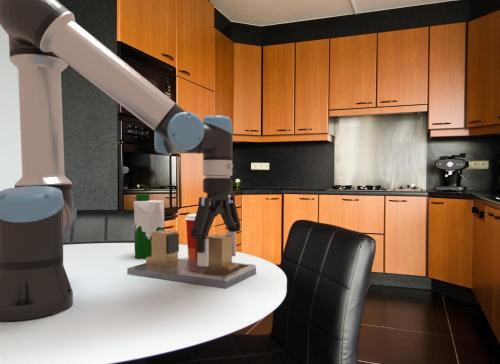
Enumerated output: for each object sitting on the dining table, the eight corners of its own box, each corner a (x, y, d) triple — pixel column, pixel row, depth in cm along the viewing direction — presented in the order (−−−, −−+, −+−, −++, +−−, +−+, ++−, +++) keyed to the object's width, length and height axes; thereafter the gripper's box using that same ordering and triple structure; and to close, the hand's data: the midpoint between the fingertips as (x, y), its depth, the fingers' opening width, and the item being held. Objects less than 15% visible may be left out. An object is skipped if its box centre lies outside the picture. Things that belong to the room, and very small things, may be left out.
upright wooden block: (229, 275, 96) (229, 238, 96) (202, 272, 100) (202, 236, 100) (238, 271, 101) (238, 236, 101) (213, 268, 104) (213, 234, 104)
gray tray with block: (225, 288, 91) (225, 242, 91) (127, 273, 104) (127, 234, 104) (256, 273, 105) (256, 233, 105) (166, 262, 118) (166, 227, 118)
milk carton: (139, 253, 132) (139, 193, 131) (166, 253, 131) (166, 193, 131) (131, 259, 123) (131, 195, 123) (160, 259, 123) (160, 195, 122)
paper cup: (212, 257, 125) (212, 213, 125) (207, 262, 118) (207, 216, 117) (188, 257, 126) (188, 213, 126) (181, 262, 118) (181, 215, 118)
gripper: (202, 177, 88) (202, 272, 88) (252, 177, 110) (252, 253, 110) (175, 177, 91) (175, 268, 91) (229, 177, 113) (229, 251, 114)
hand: (217, 260), depth 101 cm, fingers open, 13 cm apart
